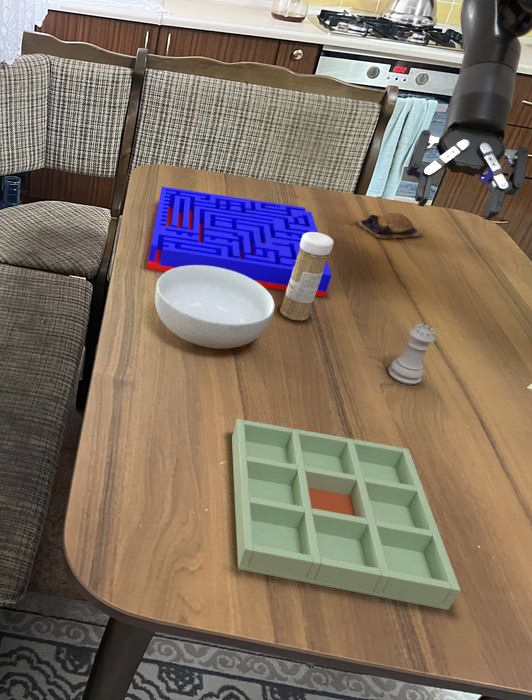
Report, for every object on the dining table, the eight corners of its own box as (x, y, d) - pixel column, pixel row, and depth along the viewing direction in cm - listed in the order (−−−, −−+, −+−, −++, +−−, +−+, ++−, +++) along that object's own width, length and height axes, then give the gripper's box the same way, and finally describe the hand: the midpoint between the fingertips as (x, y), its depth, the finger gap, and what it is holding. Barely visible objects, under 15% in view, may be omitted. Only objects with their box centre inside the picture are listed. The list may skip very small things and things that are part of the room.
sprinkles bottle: (277, 305, 111) (300, 229, 103) (306, 309, 110) (331, 233, 103) (281, 319, 107) (305, 241, 99) (310, 324, 106) (336, 246, 99)
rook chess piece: (411, 390, 94) (434, 342, 89) (381, 374, 96) (402, 326, 92) (425, 378, 97) (448, 331, 92) (395, 363, 99) (416, 317, 95)
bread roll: (396, 221, 146) (402, 205, 144) (423, 238, 140) (430, 221, 138) (354, 222, 143) (360, 206, 141) (380, 240, 137) (386, 222, 135)
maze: (324, 296, 114) (331, 275, 112) (147, 268, 117) (150, 247, 115) (304, 226, 139) (310, 208, 137) (158, 204, 142) (161, 186, 140)
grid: (399, 467, 80) (408, 448, 79) (448, 610, 64) (461, 590, 63) (231, 437, 82) (237, 418, 81) (237, 569, 66) (245, 549, 64)
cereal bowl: (146, 355, 95) (154, 312, 91) (151, 297, 109) (158, 258, 105) (269, 373, 94) (282, 330, 90) (257, 313, 108) (269, 273, 104)
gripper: (435, 81, 94) (409, 187, 91) (549, 99, 90) (525, 210, 88) (417, 111, 101) (393, 211, 98) (522, 129, 98) (500, 232, 95)
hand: (455, 210), depth 93 cm, fingers open, 8 cm apart
